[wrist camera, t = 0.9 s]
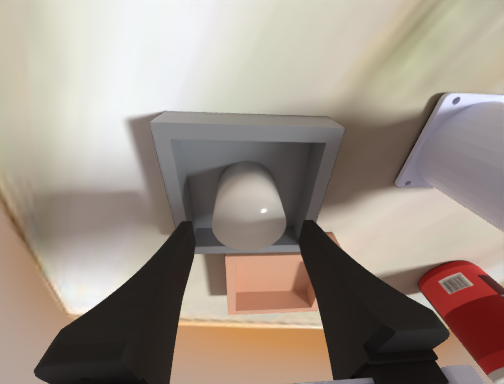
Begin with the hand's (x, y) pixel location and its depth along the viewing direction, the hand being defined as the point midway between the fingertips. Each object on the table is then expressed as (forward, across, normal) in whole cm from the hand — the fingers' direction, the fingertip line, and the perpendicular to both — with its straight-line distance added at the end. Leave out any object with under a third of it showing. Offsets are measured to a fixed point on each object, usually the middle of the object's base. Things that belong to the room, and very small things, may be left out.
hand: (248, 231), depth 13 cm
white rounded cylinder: (+5, 0, 0) cm, 5 cm away
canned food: (+6, -30, +16) cm, 35 cm away
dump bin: (+6, -4, +12) cm, 14 cm away
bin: (+6, 0, 0) cm, 6 cm away
